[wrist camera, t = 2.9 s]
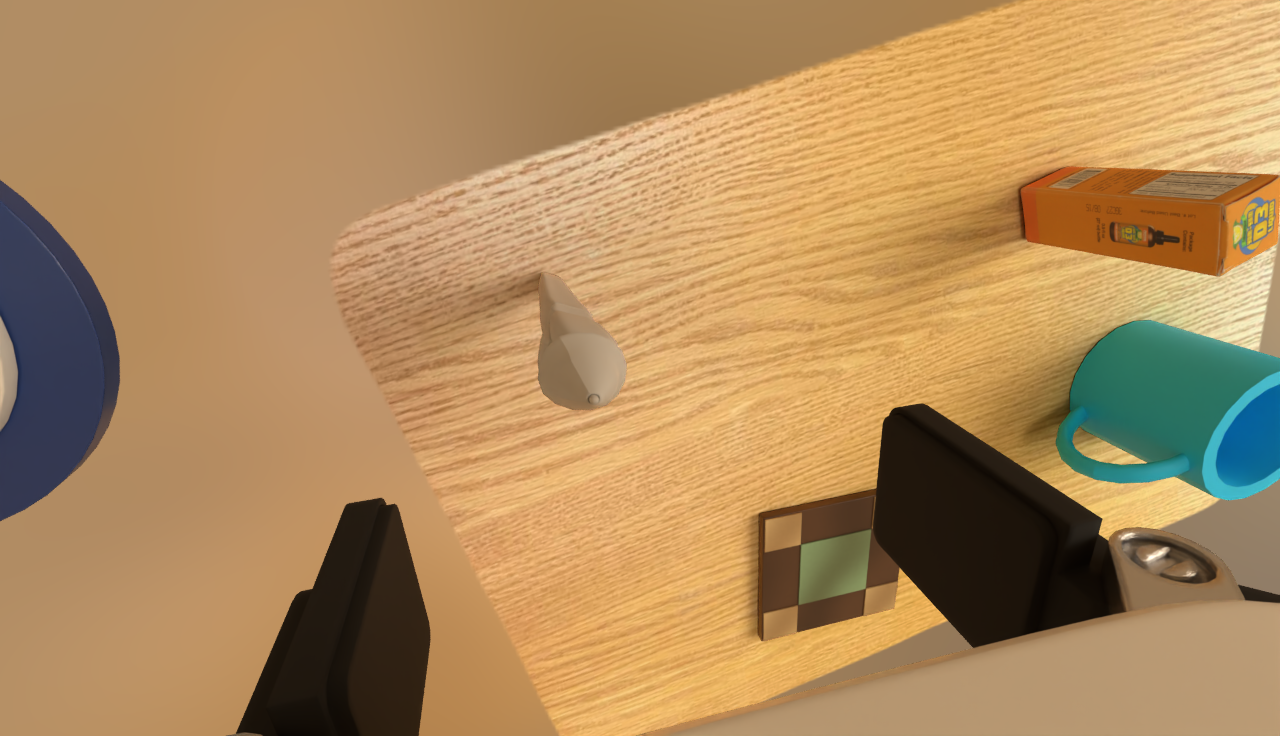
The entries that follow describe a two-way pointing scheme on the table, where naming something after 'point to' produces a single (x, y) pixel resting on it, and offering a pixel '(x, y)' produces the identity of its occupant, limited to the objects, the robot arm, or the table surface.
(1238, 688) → the robot arm
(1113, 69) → the table surface
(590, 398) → the beige tapered rod
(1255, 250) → the supplement box
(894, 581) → the board
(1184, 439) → the mug
